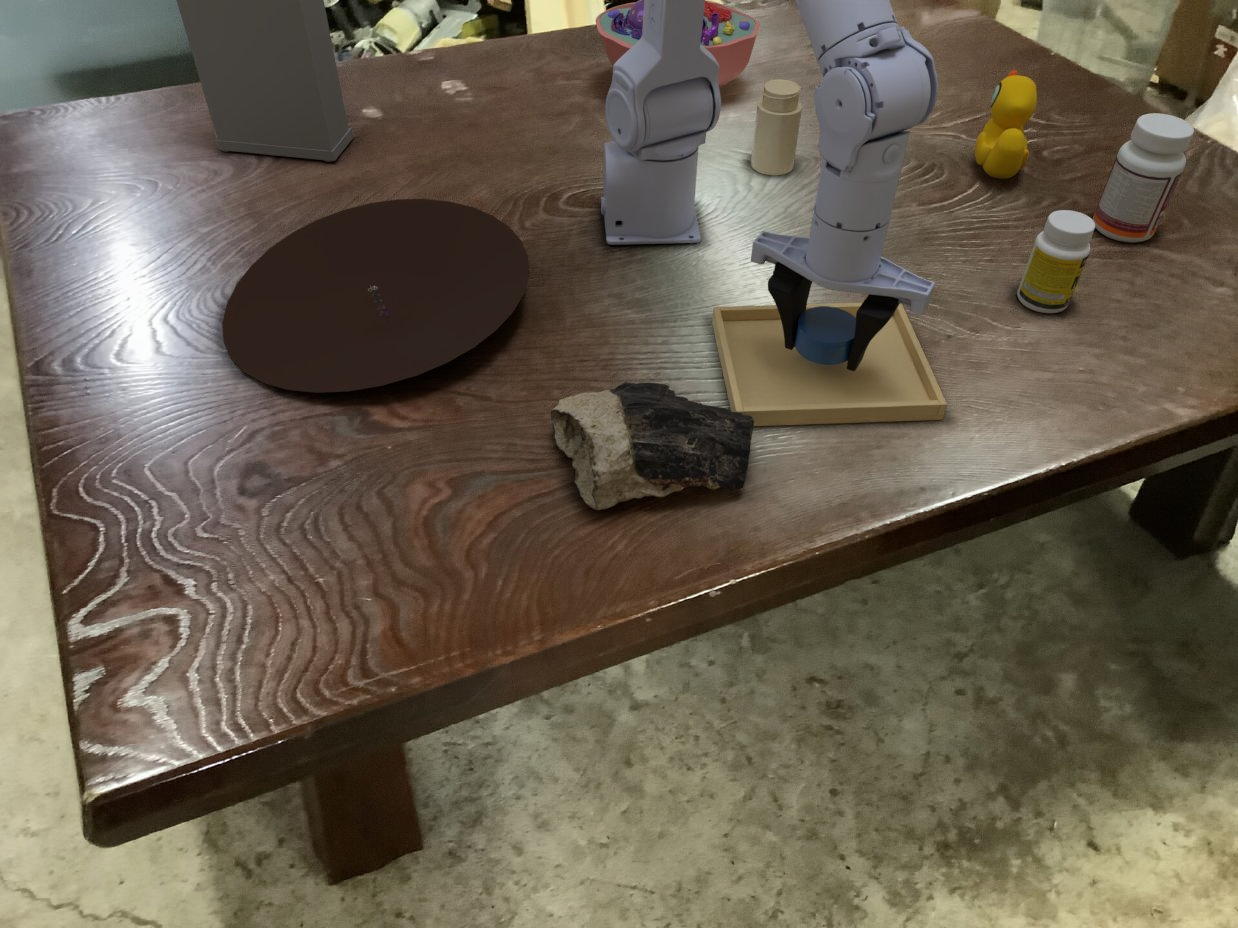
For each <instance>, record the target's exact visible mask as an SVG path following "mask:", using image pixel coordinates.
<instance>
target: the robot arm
mask: <svg viewBox="0 0 1238 928" xmlns="http://www.w3.org/2000/svg"><path fill="white" fill-rule="evenodd" d="M705 1H706V0H644V14H643V30H642V37H641V38H640V40H639V41H638V42H637V43H636V44H635V45H633V46H632V47H631V48H630V49H629V50H628V51H627V52H626V53H625V54H624V55H623V56H622V57H621V58H620V59H618V60H617V62H616V63H615V64H614V65H613V66H612V79H611V84H610V87H609V89H608V90H607V91H608V92H607V95H606V98H605V104H604V114H605V121H606V124H607V128H608V131H609V134H610V135H611V137H612V139H613V141H607V142H604V143H603V149H602V150H603V156H602V157H603V159H602V160H603V162H602V163H603V165H602V166H603V167H602V169H603V170H602V172H603V173H602V174H603V175H602V176H603V180H602V183H603V185H602V187H603V188H602V189H603V191H602V193H603V195H602V196H601V197H600V212H601V216H603V218H604V219H603V220H604V228H605V240H606V241H605V242H606V243H607V244H608V245H610V246H621V245H622V246H623V245H659V244H660V245H661V244H663V245H664V244H665V245H666V244H696V243H700V242H701V241H702V235H701V231H700V227H699V222H698V218H697V213H696V210H695V203H696V189H697V188H696V187H697V174H698V161H699V160H698V159H699V148H700V146H701V145H704V144H706V139H707V133H708V132H711V131H712V130H714V129H715V127H716V126H717V124H718V122H719V119H720V115H721V111H722V110H721V109H722V97H721V91H720V87H719V84H718V73H719V64H718V62H717V61H716V59H715V58H714V56H713V55H712V54H711V53H710V52H709V51H708V50H707V49H706V48H705V47H703V46H702V45H700V44H701V34H702V25H703V16H704V6H705ZM794 1H795V4H796V6H797V9H798V11H799V15H800V17H801V20H802V23H803V25H804V28H805V31H806V33H807V37H808V39H809V42H810V44H811V45H810V46H811V47H812V51H813V54H814V56H815V58H816V61H817V64H818V66H819V69H820V72H821V76H822V80H821V82H820V84H819V85H815V86H814V94H813V97H814V109H815V115H816V118H817V121H818V127H819V137H818V143H817V147H818V148H819V156H820V157H821V158H822V160H821V166H820V172H819V178H818V183H817V189H816V196H815V201H814V207H813V212H812V217H811V218H812V219H811V223H810V230H809V236H808V237H807V236H806V237H805V236H796V235H787V234H778V233H775V232H770V231H765V230H762V231H761V232H760V234H758V235H757V236H756V238H755V239H754V240H753V241H752V246H751V247H752V248H751V255H750V262H751V263H754V264H757V265H764V264H765V263H769V264H772V265H774V269H773V270H772V275H771V276H770V277H769V279H768V280H767V291H768V293H769V294H770V296H771V298H772V299H773V302H774V305H776V306H777V308H778V311H779V314H780V318H781V322H782V326H783V332H784V340H785V348H787V349H790V350H792V349H793V348H794V347H795V343H794V342H795V336H796V330H797V325H798V319H799V317H800V315H801V314H802V313H803V312H804V311H806V306H807V304H808V300H809V296H810V291H811V287H812V284H813V283H814V284H816V285H817V286H819V287H822V288H824V289H827V290H831V291H835V292H843V293H853V294H863V295H867V296H866V298H865V299H864V300H863V302H861V303H862V305H861V306H860V308H859V309H858V311H857V313H856V327H855V335H854V342H853V346H852V349H851V352H850V355H849V359H848V362H847V369H848V370H851V371H855V370H856V369H857V367H858V366H859V364H860V362H861V361H862V359H863V356H864V354H865V351H866V349H867V347H868V345H869V343H870V341H871V340H872V339H873V337H874V336H875V335H876V334H877V333H878V332H879V331H880V330H881V329H882V328H883V327H884V326H885V325H886V323H887V322H888V321H889V320H890V318H891V317H892V315H893V314H894V312H895V310H896V309H897V307H898V306H899V304H900V303H901V304H902V305H903V306H907V307H909V311H910V312H911V313H913V314H917V315H920V316H923V315H924V314H925V312H926V311H927V310H928V307H929V305H930V304H931V300H932V297H933V293H934V290H935V286H936V281H932V280H930V279H926V278H924V277H921V276H919V275H917V274H915V273H914V272H911V271H909V270H908V269H906V268H904V267H902V266H901V265H899V264H896V263H894V262H893V261H891V260H889V259H888V258H886V257H884V256H882V255H883V250H884V245H885V242H886V238H887V232H888V229H889V225H890V221H891V216H892V211H893V207H894V204H895V199H896V194H897V191H898V186H899V182H900V178H901V173H902V169H903V165H904V161H905V156H906V152H907V148H908V143H909V138H910V135H911V131H910V130H911V129H913V128H914V127H916V126H918V125H921V124H923V123H924V122H925V121H927V120H928V118H930V116H931V115H932V113H933V111H934V109H935V106H936V103H937V101H938V100H937V99H938V95H939V94H938V92H939V82H938V75H937V70H936V67H935V59H934V57H933V55H932V54H931V52H930V51H929V50H928V49H927V47H926V46H925V45H923V44H922V43H920V42H919V41H917V40H915V39H914V38H913V37H912V35H911V33H910V31H909V29H908V28H907V29H906V27H905V26H900V25H899V24H898V20H897V17H896V16H895V15H896V14H895V12H894V9H893V7H892V4H891V1H890V0H794ZM907 130H908V131H907Z"/></svg>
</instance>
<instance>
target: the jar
mask: <svg viewBox="0 0 1238 928" xmlns="http://www.w3.org/2000/svg"><path fill="white" fill-rule="evenodd" d="M801 92H802V87H801V86H800V85H799V84H798V83H797V82H795V81H792V80H789V79H783V78H782V79H781V78H779V79H771V80H768V81H766V82H765V83H764V86H763V91H762V98H760V99H759V100H758V101H757V104H756V113H755V122H754V130H753V131H754V132H753V140H752V149H751V158H750V166H751V168H752V169H753V170H755V171H756V172H758V173H760V174H763V175H767V176H783V175H786V174H789V173H790V172H792V170H793V169H794V166H795V159H796V153H797V146H798V139H799V132H800V125H801V118H802V113H803V112H802V111H803V103H801V102H800V101H799V99H800V94H801Z"/></svg>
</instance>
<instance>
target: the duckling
mask: <svg viewBox="0 0 1238 928" xmlns="http://www.w3.org/2000/svg"><path fill="white" fill-rule="evenodd" d="M1038 93H1039V92H1038V88H1037V85H1036V83H1035V81H1034V80H1032V78H1030V77H1029V76H1025V75H1019V72H1018V70H1014V69H1013V70H1011V71H1009V73H1008V74H1007V76H1006V77H1005V78H1003V79H1002V80H1001V81H1000V82H998V84H997V85H996V87H995V89H994V90H993V93H992V97H991V101H990V114H991V117H990V118H989V119H988V120H987V121H986V123H985V125H984V126H983V129H982V131H981V132H980V133H979V134H978V136H977V138H976V141H975V144H974V157H975V161H976V164H978V165H979V166H982V168H983V170H984V172H985V173H986V174H987V175H988V176H989V177H991V178H994V179H1001V180H1005V179H1010V178H1012V177H1014V176H1015V175H1016V174H1017V173H1018V172H1019V171H1020V170H1021V169H1023V168H1024V167H1025V166H1026V164H1028V163H1027V162H1028V160H1029V156H1030V152H1029V149H1028V137H1026V135H1025V127H1024V125H1025V124H1026V123H1028V122H1029V121H1030V119H1031V118H1032V117H1033V115H1034V113H1035V111H1036V109H1037V104H1038V100H1039V99H1038V97H1039V94H1038Z"/></svg>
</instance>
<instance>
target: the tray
mask: <svg viewBox="0 0 1238 928" xmlns="http://www.w3.org/2000/svg"><path fill="white" fill-rule="evenodd" d="M862 303H863V302H834V303H833V302H831V303H807V306H806V310H808V309H810V308H814V307H820V306H829V307H835V308H839V309H842V310H845V311H847V312H849V313H850V314H852V315H853V316H854V317H855V318H856V313H857V311H858V309H859V308H860V306H861V305H862ZM711 316H712V317H711V324H712V325H711V326H712V329H713V332H714V338H715V343H716V348H717V352H718V357H719V362H720V366H721V372H722V376H723V381H724V385H725V390H726V395H727V400H728V404H729V408H730V411H732V412H740V413H742V414H743V415H749V416H752V417H753V420H754V426H753V427H771V426H796V425H797V426H799V425H801V426H802V425H827V424H828V425H829V424H855V423H856V424H857V423H885V422H886V423H887V422H916V421H942V420H943V419H944V415H945V413H946V410H947V406H948V402H947V401H946V399H945V396H944V394H943V392H942V389H941V388H940V387H941V386H940V385H939V383H938V381H937V378H936V377H935V374H934V372H933V370H932V369H933V368H932V367H931V365H930V363H929V361H928V359H927V355H926V354H925V352H924V350H923V347H922V346H921V342H920V341H919V339H918V337H917V334H916V331H915V330H914V327H913V325H912V323H911V321H910V319H909V317H908V313H907V312H906V310H905V308H904V304H901V303H900V304H899V306H898V307H897V309H896V310H895V312H894V314H893V315H892V317H891V318H890V320H889V321H888V322H887V323H886V325H885V326H884V327H883V328H882V329H881V330H880V331H879V332H878V333H877V334H876V335H875V336H874V337H873V339H872V340H871V341H870V343H869V345H868V347H867V349H866V351H865V354H864V356H863V359H862V361H861V362H860V364H859V366H858V367H857V369H856V370H855V371H851V370H848V369H847V362H848V361H846V362H844V363H841V364H836V365H823V364H818V363H814V362H812V361H809V360H807V359H805V358H804V357H802V356H801V355H800V354H799V353H798V351H797V350H796V348H795V347H794V348H793V349H792V350H790V349H787V348H785V340H784V332H783V326H782V322H781V318H780V314H779V311H778V308H777V306H776V304H765V305H761V304H760V305H731V306H729V305H727V306H713V307H712V315H711Z"/></svg>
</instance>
